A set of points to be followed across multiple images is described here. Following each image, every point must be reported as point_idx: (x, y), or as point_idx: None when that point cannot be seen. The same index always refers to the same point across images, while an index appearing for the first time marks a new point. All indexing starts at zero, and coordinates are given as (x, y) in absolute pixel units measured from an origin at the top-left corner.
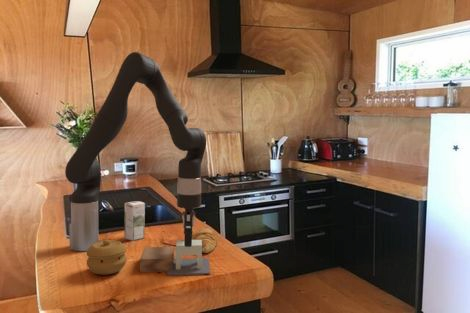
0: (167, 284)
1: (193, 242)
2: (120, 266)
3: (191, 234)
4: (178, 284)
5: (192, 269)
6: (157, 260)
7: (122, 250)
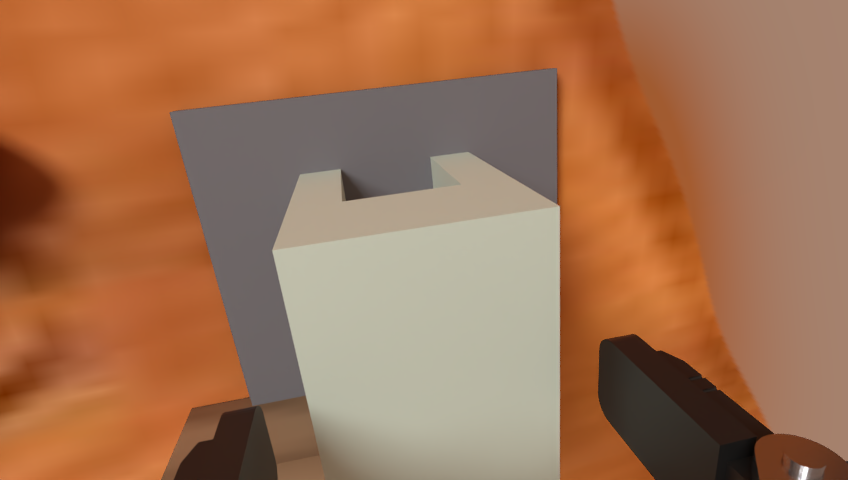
0: (677, 330)
1: (427, 338)
2: None
3: (795, 445)
4: (688, 270)
5: None
6: None
7: None
